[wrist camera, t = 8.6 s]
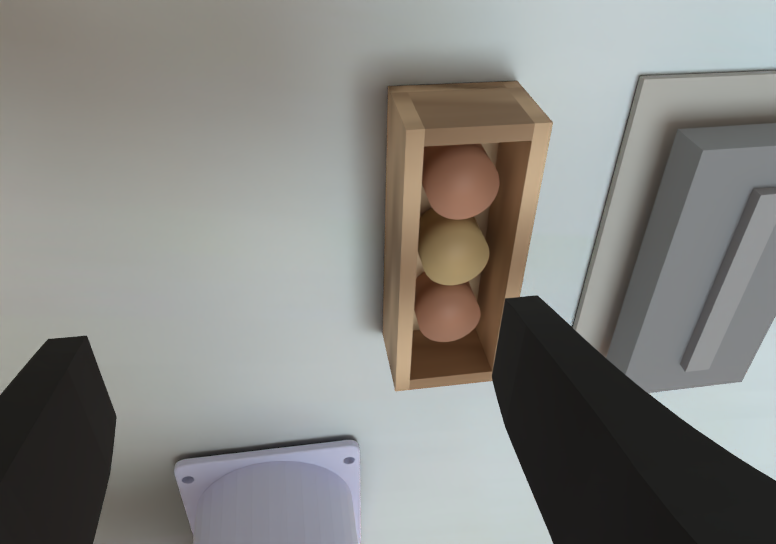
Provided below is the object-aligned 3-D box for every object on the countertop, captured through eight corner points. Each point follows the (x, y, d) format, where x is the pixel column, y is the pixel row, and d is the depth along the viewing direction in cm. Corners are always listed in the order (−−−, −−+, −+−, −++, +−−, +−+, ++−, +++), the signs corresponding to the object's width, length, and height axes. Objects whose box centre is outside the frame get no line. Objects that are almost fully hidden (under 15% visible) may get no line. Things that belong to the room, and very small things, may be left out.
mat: (721, 364, 30) (725, 369, 29) (557, 382, 29) (560, 387, 28) (865, 66, 21) (872, 70, 21) (639, 76, 20) (644, 79, 20)
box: (481, 324, 26) (503, 379, 23) (382, 333, 25) (395, 391, 23) (517, 81, 19) (552, 122, 17) (387, 86, 19) (406, 130, 17)
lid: (713, 346, 28) (747, 389, 26) (596, 359, 28) (622, 404, 26) (819, 112, 22) (875, 145, 20) (668, 121, 21) (710, 156, 19)
